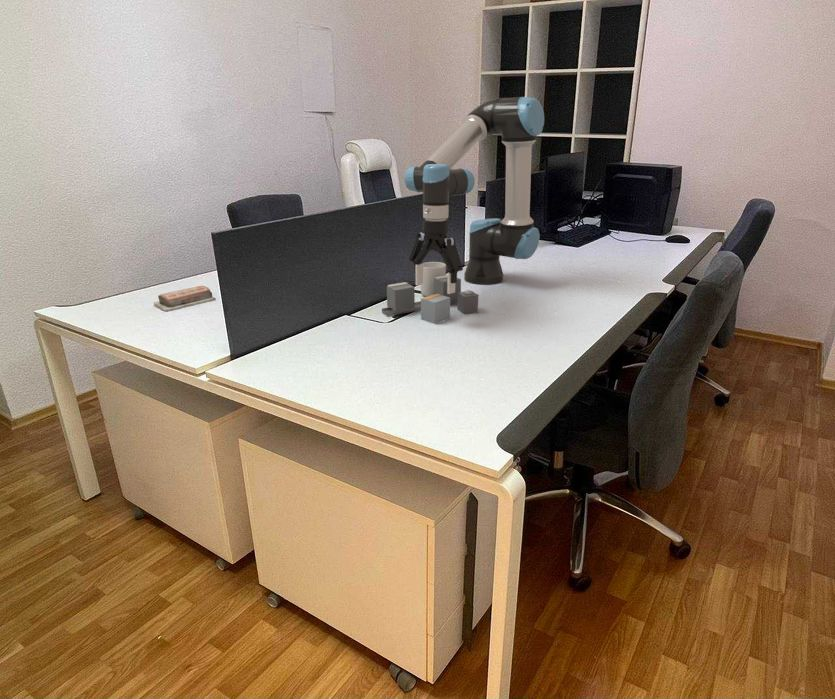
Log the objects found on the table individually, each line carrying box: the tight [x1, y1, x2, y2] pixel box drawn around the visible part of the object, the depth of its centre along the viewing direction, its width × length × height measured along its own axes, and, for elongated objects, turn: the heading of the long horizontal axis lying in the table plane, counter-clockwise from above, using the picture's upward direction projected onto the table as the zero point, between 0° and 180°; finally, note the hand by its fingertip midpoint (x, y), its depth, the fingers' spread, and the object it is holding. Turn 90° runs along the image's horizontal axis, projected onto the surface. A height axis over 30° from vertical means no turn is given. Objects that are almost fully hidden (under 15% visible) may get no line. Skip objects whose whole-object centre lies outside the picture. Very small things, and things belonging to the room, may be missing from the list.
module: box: [420, 294, 451, 325], centre depth 176 cm, size 7×6×7 cm
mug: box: [420, 261, 447, 298], centre depth 200 cm, size 12×9×11 cm
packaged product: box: [153, 285, 217, 313], centre depth 195 cm, size 18×5×10 cm
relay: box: [457, 289, 479, 315], centre depth 183 cm, size 5×5×7 cm
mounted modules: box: [386, 274, 462, 311], centre depth 187 cm, size 25×6×7 cm, turn 120°
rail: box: [381, 300, 458, 317], centre depth 188 cm, size 30×4×2 cm, turn 120°
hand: (434, 288), depth 174 cm, fingers open, 13 cm apart
